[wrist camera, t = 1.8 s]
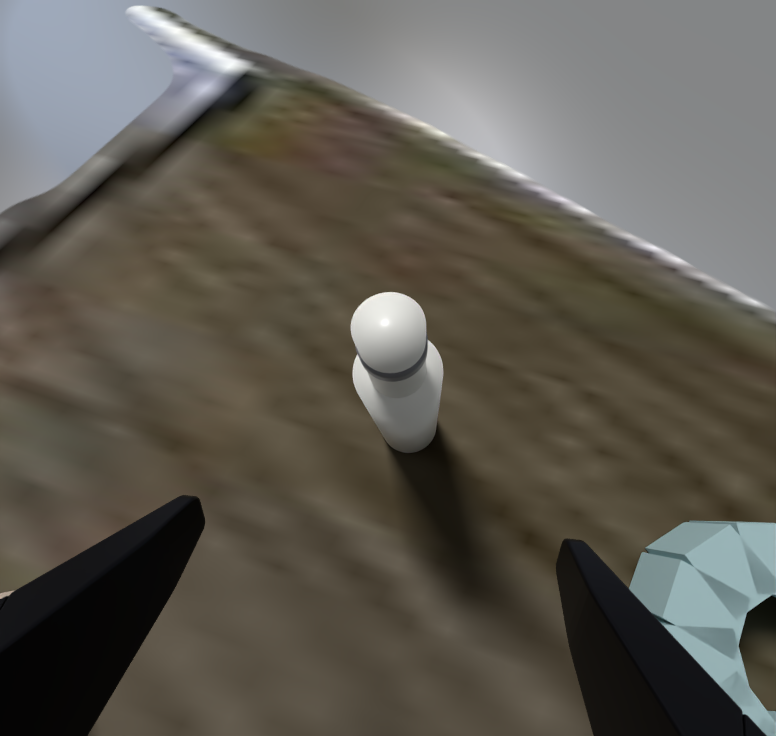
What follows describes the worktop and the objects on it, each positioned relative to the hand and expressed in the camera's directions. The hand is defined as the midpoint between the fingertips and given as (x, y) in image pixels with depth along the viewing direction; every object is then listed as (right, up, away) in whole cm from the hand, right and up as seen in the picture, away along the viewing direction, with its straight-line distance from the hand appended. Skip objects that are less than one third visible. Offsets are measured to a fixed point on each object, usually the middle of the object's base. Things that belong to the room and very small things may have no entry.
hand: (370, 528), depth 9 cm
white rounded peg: (+2, +1, +12) cm, 12 cm away
